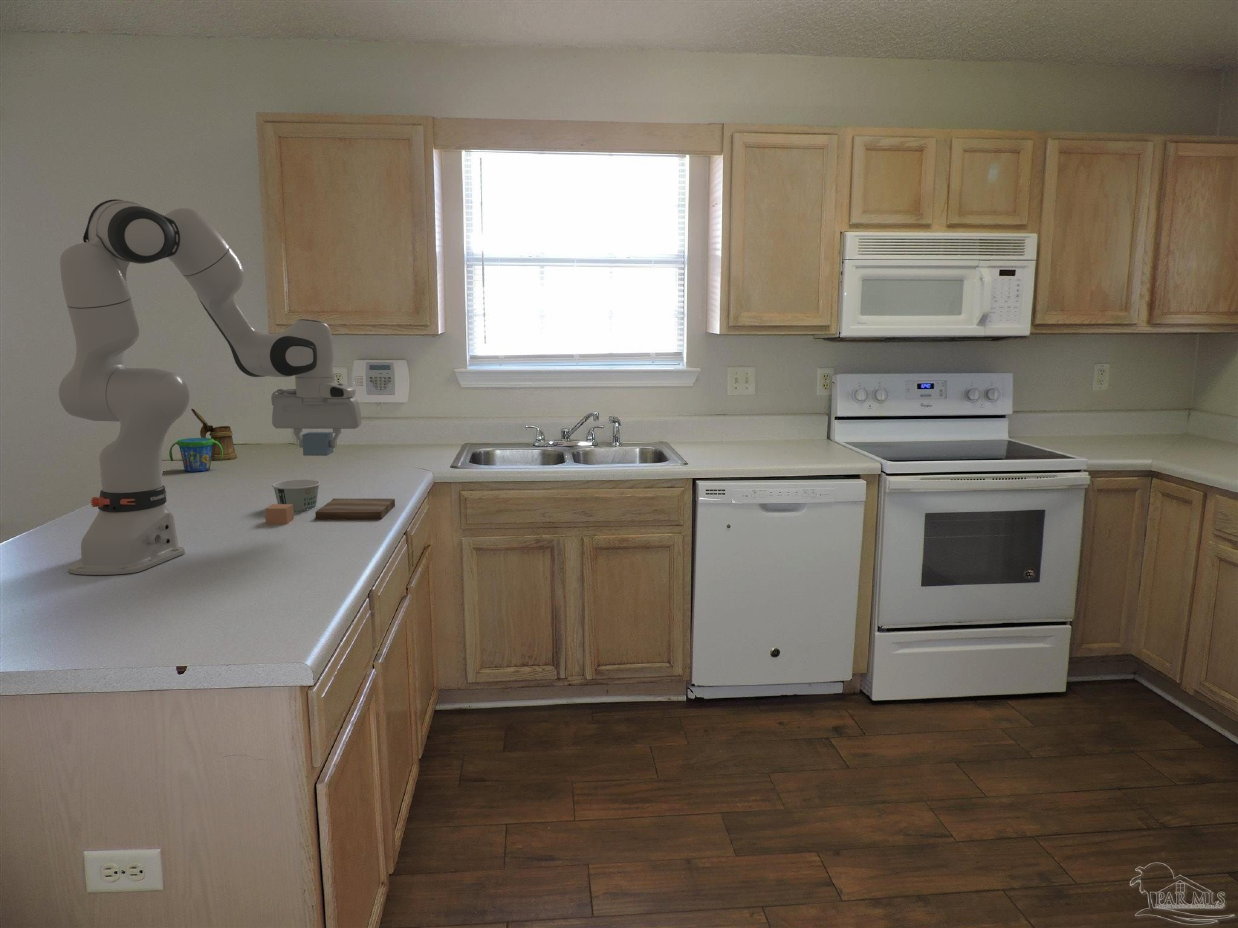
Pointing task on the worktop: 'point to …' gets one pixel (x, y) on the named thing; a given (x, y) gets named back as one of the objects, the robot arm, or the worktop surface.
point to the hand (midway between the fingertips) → (318, 447)
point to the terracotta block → (279, 513)
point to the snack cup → (196, 453)
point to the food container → (297, 493)
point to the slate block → (317, 443)
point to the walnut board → (355, 509)
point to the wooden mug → (218, 439)
